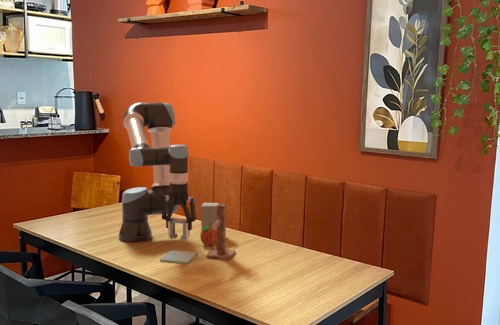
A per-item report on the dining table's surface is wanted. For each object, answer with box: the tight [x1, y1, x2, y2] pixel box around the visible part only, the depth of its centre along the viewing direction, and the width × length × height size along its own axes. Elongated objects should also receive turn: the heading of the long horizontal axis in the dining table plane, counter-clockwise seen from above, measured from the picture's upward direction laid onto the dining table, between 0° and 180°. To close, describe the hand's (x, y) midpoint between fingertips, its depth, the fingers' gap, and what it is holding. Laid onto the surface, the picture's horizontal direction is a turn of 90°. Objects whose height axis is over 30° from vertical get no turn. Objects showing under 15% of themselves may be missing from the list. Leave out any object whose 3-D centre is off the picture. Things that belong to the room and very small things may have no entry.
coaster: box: [159, 249, 198, 265], centre depth 212 cm, size 12×12×1 cm
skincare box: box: [200, 202, 220, 229], centre depth 243 cm, size 8×7×16 cm
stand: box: [205, 203, 236, 261], centre depth 211 cm, size 10×18×22 cm, turn 167°
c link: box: [169, 217, 188, 241], centre depth 210 cm, size 7×3×8 cm, turn 77°
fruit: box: [199, 224, 217, 247], centre depth 229 cm, size 9×10×10 cm
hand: (179, 236), depth 210 cm, fingers closed on c link, 7 cm apart
